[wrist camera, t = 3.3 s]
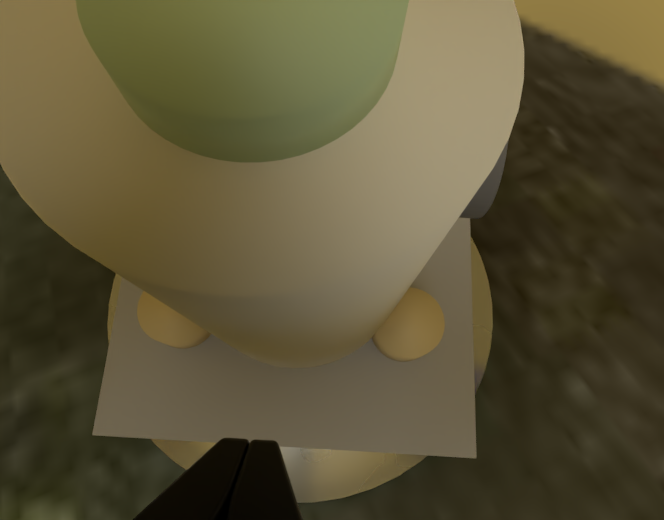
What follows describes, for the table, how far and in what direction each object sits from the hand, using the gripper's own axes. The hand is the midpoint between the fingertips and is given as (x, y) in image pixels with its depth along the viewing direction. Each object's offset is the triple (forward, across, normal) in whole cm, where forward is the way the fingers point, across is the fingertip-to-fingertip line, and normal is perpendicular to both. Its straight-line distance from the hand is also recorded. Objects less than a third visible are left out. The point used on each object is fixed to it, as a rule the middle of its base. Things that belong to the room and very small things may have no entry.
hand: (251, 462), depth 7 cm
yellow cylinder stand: (+9, 0, 0) cm, 9 cm away
